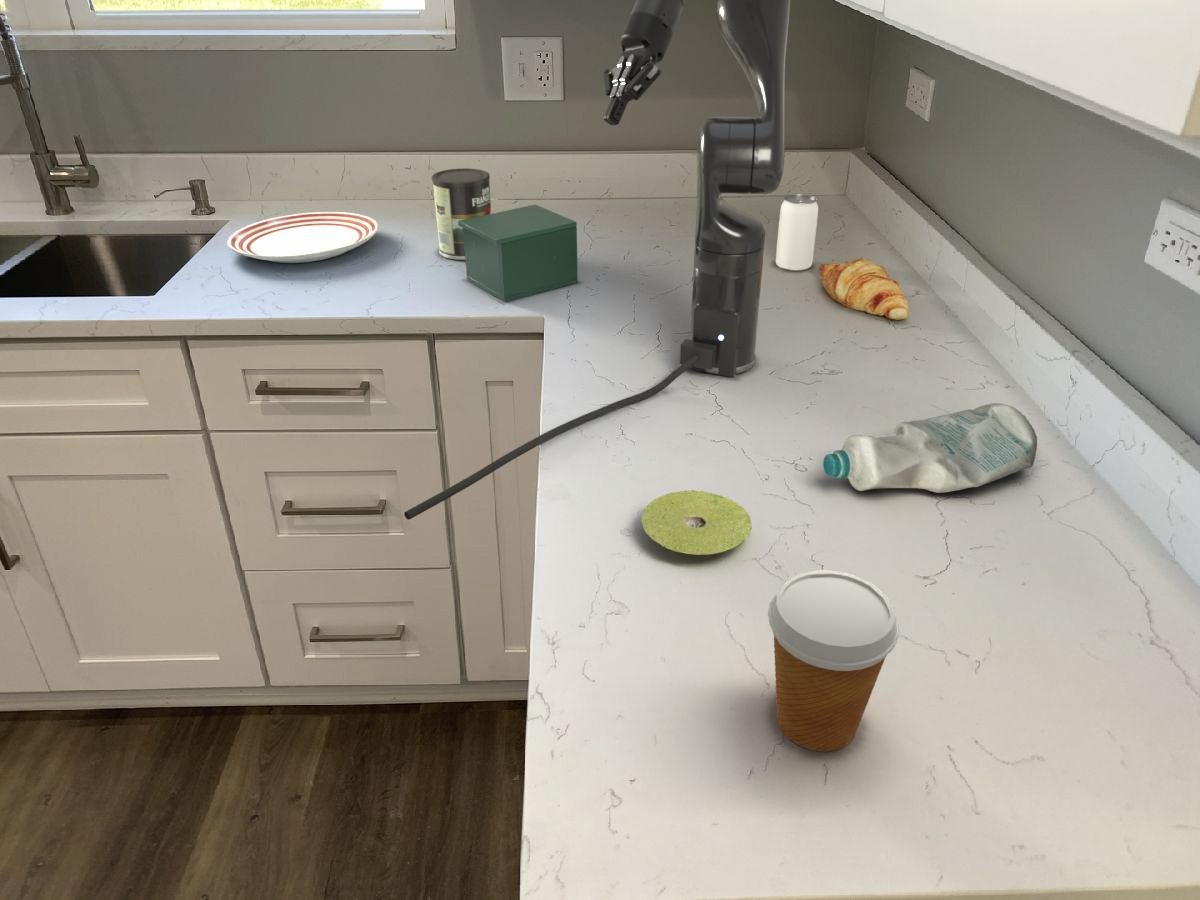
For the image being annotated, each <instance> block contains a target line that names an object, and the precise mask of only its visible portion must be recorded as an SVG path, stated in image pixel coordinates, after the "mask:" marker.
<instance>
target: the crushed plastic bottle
mask: <svg viewBox="0 0 1200 900" xmlns="http://www.w3.org/2000/svg"><path fill="white" fill-rule="evenodd" d="M1037 447H1038V437H1037V433H1036V432H1035V429H1034V427H1033V425H1032V424H1031V423H1030V421H1029V419H1028V418H1027V416H1025V415H1024V414H1023V413H1022V411H1020V410H1019V409H1017V408H1016V407H1014V406H1012V405H1009V404H1005V403H998V402H997V403H995V402H994V403H993V402H992V403H988V404H984V405H980V406H977V407H975V408H974V409H964V410H960V411H957V412H953V413H949V414H944V415H943V414H942V415H938V416H934V417H930V418H926V419H921V420H920V419H919V420H911V421H901V422H900V423H898V424H897V426H896V427H895V428H894V430H893V431H892V433H891V435H890V436H886V437H885V436H882V437H876V436H873V435H861V434H852V435H851V436H849V437H848V438H846V439H845V441H844V442H843V445H842V449H839V450H838V449H837V450H834V451H833V452H832V453H828V454H826V455H824V458H823V463H822V467H823V471H824V473H825V475H826V476H827V477H829V478H836V479H837V480H846V479H848V482H849V483H850V486H852V487H853V488H854V489H855V490H856V491H859V492H864V491H868V490H877V489H879V490H880V489H920V490H926V491H929V492H932V493H937V494H939V493H940V494H941V493H951V492H955V491H961V490H965V489H969V488H978V487H980V486H984V485H987V484H988V483H992V482H994V481H998V480H1000V479H1003V478H1004V477H1007V476H1010V475H1012V474H1015V473H1018V472H1020V471H1023V470H1029V469H1032V468H1033V466H1034V462H1035V460H1036V455H1037Z"/></svg>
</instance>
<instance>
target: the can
mask: <svg viewBox="0 0 1200 900" xmlns="http://www.w3.org/2000/svg"><path fill="white" fill-rule="evenodd" d="M817 201H818V198H817V197H816V196H814V195H811V194H810V195H809V194H805V193H793V194H788V195H787V194H786V195H785V196H784V197H783V202H782V204H781V206H780V210H779V218H778V219H779V220H778V229H777V241H776V250H775V251H776V253H775V265H776V266H777V268H779V269H781V270H784V271H789V272H802V271H806V270H807V271H808V270H809V269H810V268H811V267H812V265H813V262H814V261H813V260H814V253H815V245H816V244H815V243H816V235H817V228H818V216H819V205H818V203H817Z"/></svg>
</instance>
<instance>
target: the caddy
mask: <svg viewBox="0 0 1200 900" xmlns="http://www.w3.org/2000/svg"><path fill="white" fill-rule="evenodd" d="M463 237H464V249H465V260H464V261H465V270H466V271H465V272H466V281H468V282H469V283H471V284H473V285H474V286H476V287H478V288H480V289H481V290H483V291H485V292H486V293H488V294H490V295H491V296H493V297H495V298H497V299H499V300H501V301H502V302H504V303H507V302H510V301H514V300H518V299H522V298H525V297H529V296H533V295H538V294H540V293H541V294H542V293H545V292H548V291H552V290H555V289H559V288H563V287H567V286H570V285H575V284H578V282H579V280H578V275H579V274H578V273H579V272H578V228H577V226H576V227H572V228H568V229H563V230H559V231H555V232H550V233H546V234H542V235H537V236H533V237H529V238H524V239H520V240H516V241H511V242H507V243H503V244H498V245H496V244H494V243H492V242H490V241H488V240H486V239H484V238H482V237H480V236H478V235H476V234H475V233H473V232H471V231H469V230H467V229H465V228H463Z"/></svg>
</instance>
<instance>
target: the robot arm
mask: <svg viewBox="0 0 1200 900" xmlns="http://www.w3.org/2000/svg"><path fill="white" fill-rule="evenodd" d="M686 1H687V0H635V3H634V5H633V8H632V10H631V12H630V15H629V17H628V20H627V21H626V24H625V26H624V29H623V31H622V34H621V36H620V40H619V41H620V42H619V43H620V45H621V48H622V53H621V54H620V55H619V57H618V58H617V60H616V62H615V63H616V65H615V66H614V67H613V68H612V69H611V70H610V69H609V68H605V69H604V70H603V73H602V76H603V77H602V78H603V87H604V95H605V96H607V97H608V98H609V99H610V100H609V103H608V106H607V108H606V110H605V112H604V115H603V121H604V122H605V123H607V124H608V125H610V126H618V125H619V124H620V122H621V119H622V117H623V114H624V113H625V110H626V108H627V106H629V105H630V104H631V103H632V102H633V100H634V101H638V100H639V99H640V98H641V97H642V96H643V95H644V93H646V91H647V90H648V89H649V88H650V87H651V86H652V85H653V83H654V82H655V81H657V79H658V78H659V77H660V76H661V74H662V70H661V69H660V68H659V67H658V66H656V64H658V63H660V62H662V60H663V59H664V57H665V55H666V53H667V51H668V48H669V45H670V43H671V41H672V38H673V36H674V33H675V31H676V30H677V26H678V25H679V21H680V18H681V15H682V11H683V8H684V6H685V3H686ZM790 8H791V0H716V10H715V11H716V13H715V14H716V21H717V25H718V28H719V31H720V33H721V35H722V37H723V39H724V41H725V43H726V44H727V45H728V46H727V47H728V48H729V50H730V51H731V54H732V55H733V56H734V57H735V59H736V61H737V63H738V64H739V65H740V67H741V68H742V70H743V72H744V74H745V75H746V78H747V80H748V82H749V85H750V87H751V88H752V92H753V94H754V99H755V102H756V105H757V110H758V115H759V116H757V117H752V116H751V117H750V116H749V117H748V116H747V117H746V116H710V117H707V118H706V119H704V121H703V122H702V124H701V126H700V129H699V132H698V136H697V146H696V197H697V198H696V217H695V218H696V219H695V233H694V252H693V253H694V254H693V269H692V288H691V290H692V291H691V309H690V313H691V314H690V327H689V328H690V329H689V330H690V331H689V333H690V334H689V339H688V338H685V339H684V340H683V342H681V344H680V347H679V349H680V351H679V366H678V367H676V369H674V370H673V371H672V372H671V373H669V374H668V375H667V376H666V377H665V378H664V379H663V380H661V381H660V382H659V383H657V384H656V385H653V386H652V387H651V388H648V389H647V390H644V391H642V392H640V393H637V394H634V395H631V396H629V397H626V398H622V399H620V400H616V401H614V402H612V403H610V404H608V405H605V406H601V407H600V408H598V409H595V410H592V411H590V412H588V413H586V414H583V415H580V416H578V417H576V418H573V419H571V420H569V421H567V422H564V423H562V424H560V425H558V426H556V427H554V428H552V429H549V430H548V431H546V432H544V433H542V434H540V435H539V436H536V437H534V438H533V439H531V440H529V441H527V442H525V443H523V444H522V445H520V446H519V447H517V448H515V449H513V450H511V451H509V452H508V453H506V454H504V455H502V456H501V457H499V458H498V459H496V460H494V461H492V462H491V463H489V464H487V465H486V466H484V467H483V468H481V469H479V470H478V471H476V472H474V473H472V474H471V475H469V476H468V477H465V478H463V479H462V480H460V481H458V482H457V483H455V484H454V485H451V486H450V487H448V488H446V489H444V490H442V491H441V492H439V493H437V494H435V495H433V496H432V497H429V498H428V499H426V500H424V501H423V502H420V503H418V504H417V505H415V506H412V507H411V508H409V509H408V510H406V511H404V513H403V514H404V517H405V519H406V520H408V521H410V520H412V519H413V518H415V517H416V516H418V515H420V514H422V513H424V512H426V511H428V510H430V509H431V508H433V507H435V506H437V505H438V504H440V503H442V502H445V500H448V499H450V498H451V497H453V496H455V495H457V494H458V493H460V492H462V491H464V490H466V489H467V488H469V487H470V486H472V485H474V484H475V483H477V482H479V481H481V480H482V479H484V478H486V477H487V476H489V475H490V474H493V472H495V471H497V470H498V469H500V468H502V467H504V466H505V465H507V464H509V463H511V462H512V461H513V460H515V459H517V458H518V457H520V456H522V455H524V454H525V453H527V452H529V451H531V450H533V449H534V448H537V447H538V446H540V445H542V444H543V443H546V442H547V441H549V440H551V439H554V438H555V437H557V436H559V435H561V434H564V433H565V432H567V431H570V430H572V429H574V428H576V427H578V426H581V425H583V424H585V423H588V422H590V421H593V420H595V419H598V418H601V417H602V416H604V415H607V414H609V413H612V412H614V411H617V410H619V409H621V408H624V407H627V406H630V405H632V404H636V403H638V402H641V401H644V400H646V399H648V398H651V397H653V396H654V395H656V394H658V393H660V392H661V391H663V390H664V389H666V388H667V387H668V386H670V384H672V383H673V382H674V381H675V380H676V379H677V378H679V376H681V375H682V374H683V373H684V372H686V371H687V370H689V368H690V370H692V371H696V372H702V373H708V374H712V375H718V376H723V377H728V378H733V377H735V376H736V375H737V374H742V373H745V372H747V371H749V370H751V369H752V368H753V367H754V365H756V347H757V333H758V322H759V313H760V312H759V309H760V299H761V287H762V278H763V277H762V276H763V267H764V255H765V246H766V235H767V234H766V225H765V224H764V222H763V221H762V220H761V219H759V218H758V217H756V216H754V215H752V214H749V213H746V212H744V211H741V210H740V209H737V208H736V207H734V206H732V205H731V204H729V203H728V202H727V201H726V200H725V199H724V198H723V197H722V194H734V195H735V194H737V195H769V194H773V193H775V192H776V191H777V190H778V189H779V187H780V184H781V182H782V178H783V174H784V167H785V166H784V165H785V157H786V156H785V153H786V151H785V150H786V110H785V109H786V107H785V105H786V103H785V102H786V100H785V99H786V95H785V93H786V92H785V91H786V90H785V89H786V86H785V85H786V84H785V83H786V79H785V78H786V77H785V76H786V55H787V54H786V53H787V45H788V44H787V43H788V34H789V33H788V32H789V31H788V30H789V21H790Z"/></svg>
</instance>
